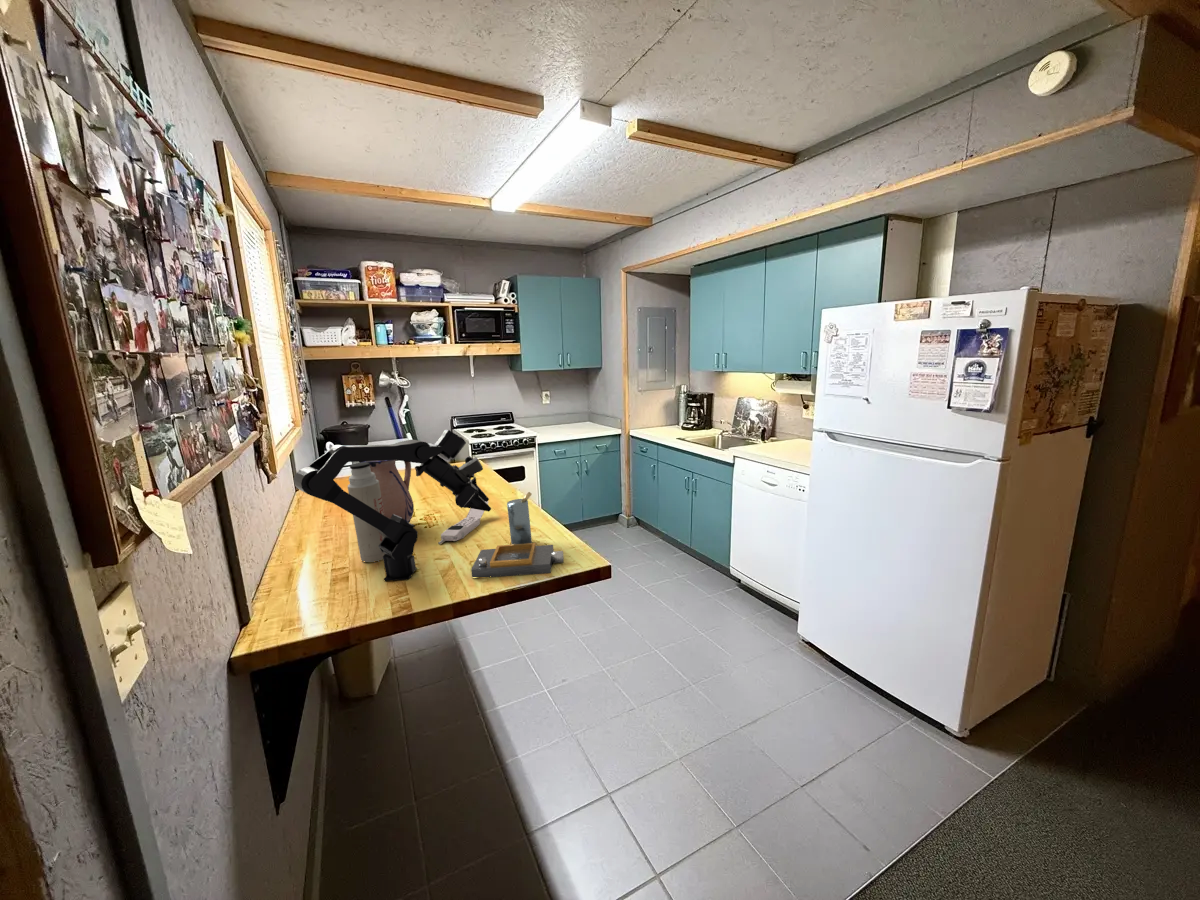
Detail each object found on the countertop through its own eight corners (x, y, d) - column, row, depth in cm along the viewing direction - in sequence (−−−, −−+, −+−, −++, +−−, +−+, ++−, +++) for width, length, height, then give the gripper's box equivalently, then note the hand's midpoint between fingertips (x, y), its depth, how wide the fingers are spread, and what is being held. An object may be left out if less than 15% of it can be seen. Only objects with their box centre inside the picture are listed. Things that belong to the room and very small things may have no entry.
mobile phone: (489, 500, 165) (451, 527, 141) (492, 516, 166) (454, 546, 142) (474, 500, 166) (433, 527, 142) (476, 516, 167) (436, 545, 144)
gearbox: (472, 578, 120) (470, 564, 120) (482, 558, 132) (480, 544, 131) (562, 572, 121) (561, 557, 120) (564, 552, 133) (563, 538, 132)
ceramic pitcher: (346, 540, 152) (332, 464, 146) (392, 516, 171) (381, 449, 166) (392, 543, 146) (378, 465, 141) (434, 519, 166) (423, 449, 161)
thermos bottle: (396, 551, 140) (381, 460, 134) (379, 563, 133) (362, 467, 127) (373, 550, 142) (357, 460, 136) (354, 562, 134) (336, 467, 128)
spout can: (512, 549, 137) (507, 498, 133) (510, 541, 142) (504, 492, 139) (538, 545, 139) (533, 494, 135) (535, 537, 144) (530, 488, 141)
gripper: (463, 456, 121) (511, 492, 127) (462, 444, 139) (504, 475, 144) (435, 490, 121) (484, 524, 126) (437, 473, 138) (480, 503, 144)
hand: (489, 505), depth 135 cm, fingers open, 9 cm apart
